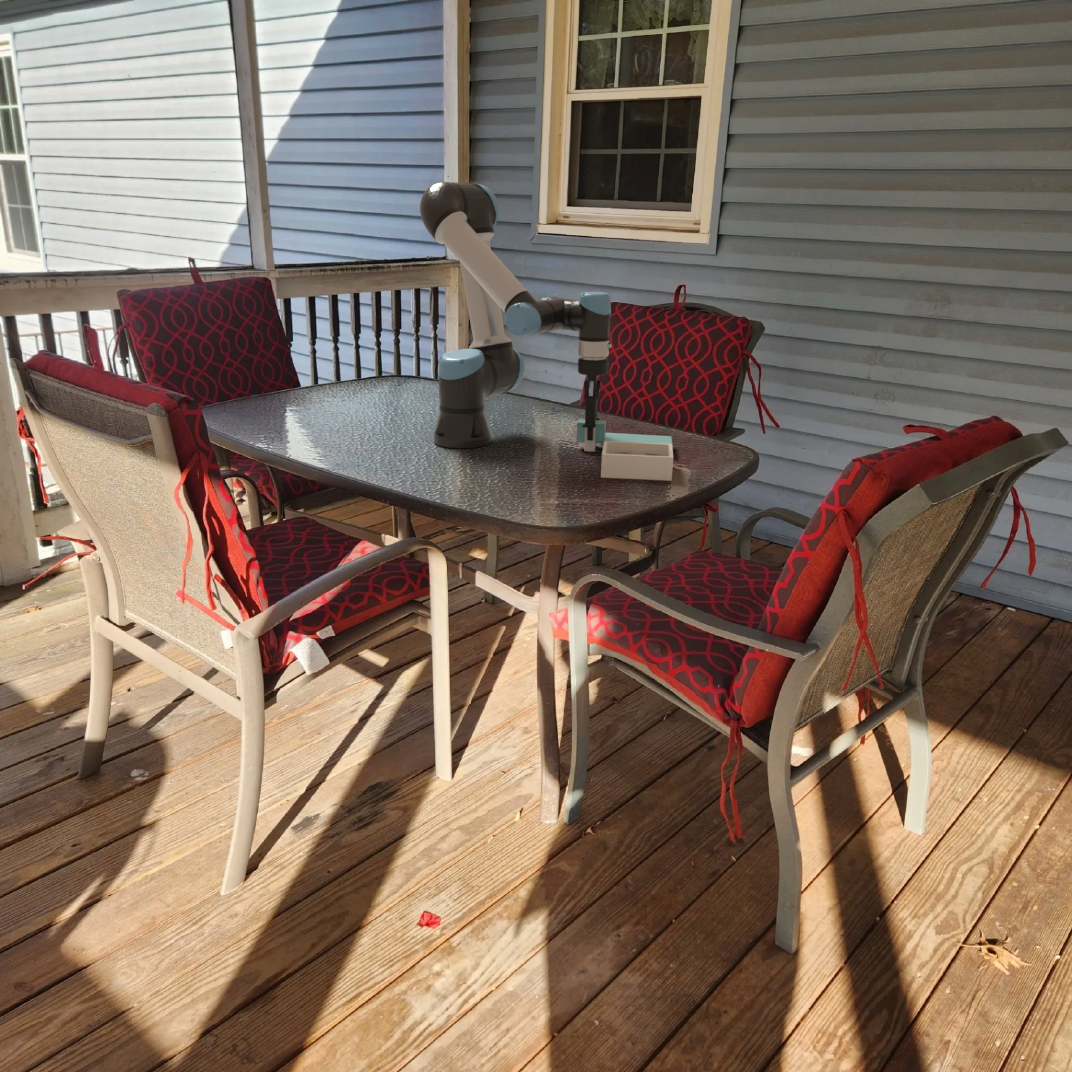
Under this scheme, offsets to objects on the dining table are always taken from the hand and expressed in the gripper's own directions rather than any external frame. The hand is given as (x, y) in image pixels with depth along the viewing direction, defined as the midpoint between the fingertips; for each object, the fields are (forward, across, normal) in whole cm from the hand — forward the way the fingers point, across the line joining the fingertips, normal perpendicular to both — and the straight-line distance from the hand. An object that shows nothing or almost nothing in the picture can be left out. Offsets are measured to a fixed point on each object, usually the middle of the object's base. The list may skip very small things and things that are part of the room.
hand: (590, 449), depth 218 cm
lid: (-2, 0, -9) cm, 9 cm away
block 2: (0, -20, -15) cm, 25 cm away
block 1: (0, -19, -9) cm, 21 cm away
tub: (0, -19, -12) cm, 22 cm away
